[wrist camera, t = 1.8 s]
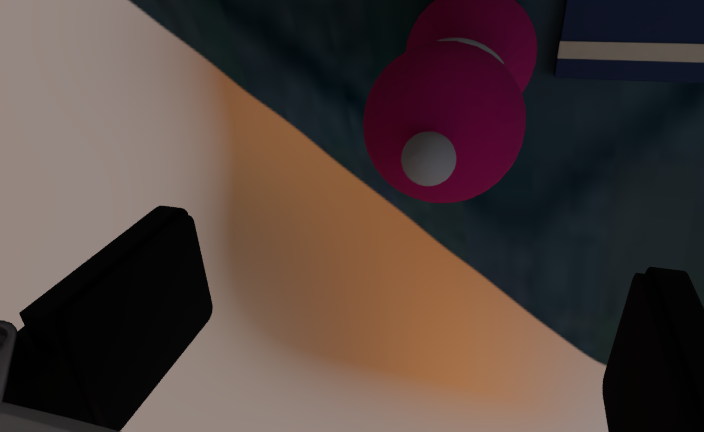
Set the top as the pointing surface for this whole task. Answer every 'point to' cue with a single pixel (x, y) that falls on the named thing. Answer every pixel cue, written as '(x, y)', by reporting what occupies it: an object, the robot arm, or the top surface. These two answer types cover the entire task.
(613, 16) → the tea towel
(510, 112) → the pepper mill
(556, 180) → the top surface
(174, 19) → the top surface
